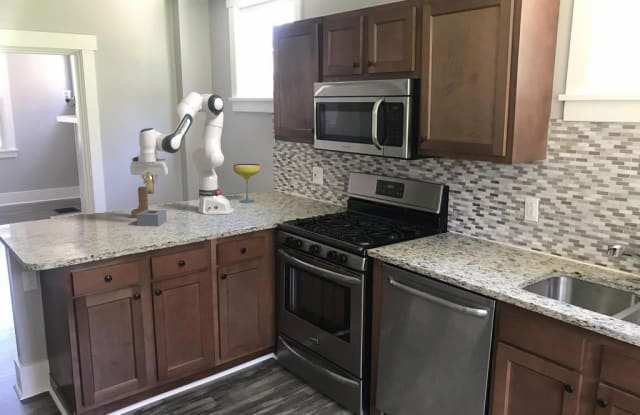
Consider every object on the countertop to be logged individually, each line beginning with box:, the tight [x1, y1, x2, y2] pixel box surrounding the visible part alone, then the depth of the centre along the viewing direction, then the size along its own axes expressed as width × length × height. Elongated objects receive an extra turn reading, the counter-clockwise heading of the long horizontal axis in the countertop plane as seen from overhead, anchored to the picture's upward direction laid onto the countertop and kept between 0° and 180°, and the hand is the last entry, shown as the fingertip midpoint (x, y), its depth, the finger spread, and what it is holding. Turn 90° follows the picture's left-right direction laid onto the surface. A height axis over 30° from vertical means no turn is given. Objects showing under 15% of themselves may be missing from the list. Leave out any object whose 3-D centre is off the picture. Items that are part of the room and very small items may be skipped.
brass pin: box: [145, 172, 155, 195], centre depth 287 cm, size 4×4×12 cm
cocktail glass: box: [232, 163, 261, 204], centre depth 356 cm, size 18×18×25 cm
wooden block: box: [130, 186, 149, 219], centre depth 305 cm, size 9×4×18 cm, turn 99°
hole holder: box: [136, 209, 167, 227], centre depth 291 cm, size 12×12×6 cm
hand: (149, 183), depth 287 cm, fingers closed on brass pin, 4 cm apart
